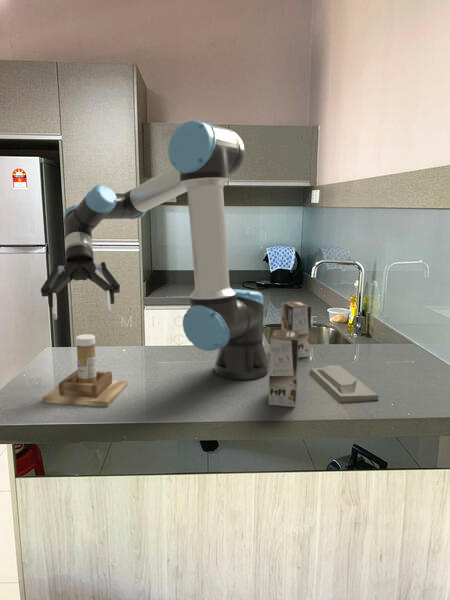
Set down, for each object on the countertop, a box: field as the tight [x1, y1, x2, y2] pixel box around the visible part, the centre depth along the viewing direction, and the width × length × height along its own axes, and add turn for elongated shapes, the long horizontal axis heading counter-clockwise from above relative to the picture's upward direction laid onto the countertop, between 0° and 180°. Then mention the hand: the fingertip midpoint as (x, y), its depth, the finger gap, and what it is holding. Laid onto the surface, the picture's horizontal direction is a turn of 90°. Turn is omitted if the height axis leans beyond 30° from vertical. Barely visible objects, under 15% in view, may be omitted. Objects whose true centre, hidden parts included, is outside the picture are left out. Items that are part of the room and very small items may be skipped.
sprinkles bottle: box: [75, 333, 97, 384], centre depth 112 cm, size 5×5×14 cm
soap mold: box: [308, 364, 379, 404], centre depth 119 cm, size 10×20×4 cm, turn 10°
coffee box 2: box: [268, 329, 299, 408], centre depth 109 cm, size 9×6×16 cm
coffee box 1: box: [280, 300, 312, 359], centre depth 144 cm, size 9×6×16 cm
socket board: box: [42, 369, 128, 407], centre depth 113 cm, size 16×13×4 cm
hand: (82, 315), depth 120 cm, fingers open, 13 cm apart
